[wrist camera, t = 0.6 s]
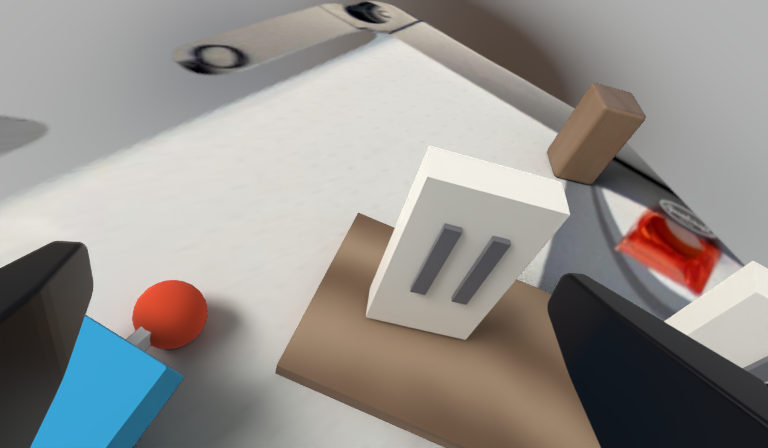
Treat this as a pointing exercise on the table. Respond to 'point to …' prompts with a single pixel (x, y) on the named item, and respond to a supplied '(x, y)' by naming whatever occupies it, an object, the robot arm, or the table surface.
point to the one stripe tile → (732, 319)
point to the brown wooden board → (437, 362)
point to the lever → (122, 372)
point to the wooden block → (594, 133)
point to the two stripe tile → (462, 242)
